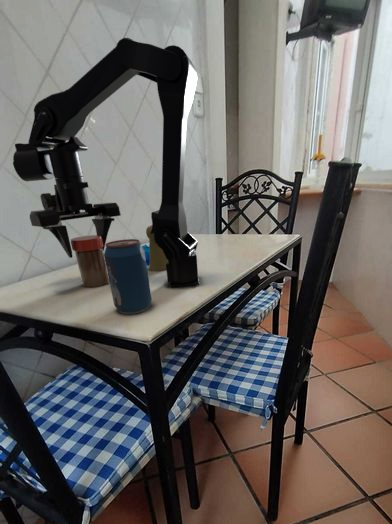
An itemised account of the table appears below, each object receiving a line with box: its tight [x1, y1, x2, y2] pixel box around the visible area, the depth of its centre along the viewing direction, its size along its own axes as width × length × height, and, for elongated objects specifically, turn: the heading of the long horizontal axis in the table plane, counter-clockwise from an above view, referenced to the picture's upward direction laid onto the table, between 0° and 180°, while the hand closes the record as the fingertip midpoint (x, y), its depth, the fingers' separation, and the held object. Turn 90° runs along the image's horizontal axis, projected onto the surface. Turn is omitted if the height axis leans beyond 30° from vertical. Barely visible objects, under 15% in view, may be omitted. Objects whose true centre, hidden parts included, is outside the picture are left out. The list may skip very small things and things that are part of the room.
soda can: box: [103, 238, 152, 315], centre depth 56 cm, size 7×7×12 cm
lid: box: [70, 234, 103, 252], centre depth 72 cm, size 7×7×2 cm
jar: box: [74, 248, 110, 288], centre depth 74 cm, size 6×6×10 cm
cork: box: [145, 224, 168, 272], centre depth 83 cm, size 6×6×11 cm
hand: (86, 254), depth 73 cm, fingers open, 8 cm apart
